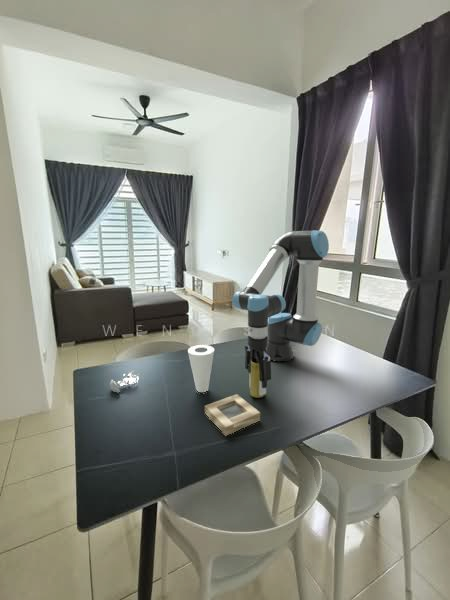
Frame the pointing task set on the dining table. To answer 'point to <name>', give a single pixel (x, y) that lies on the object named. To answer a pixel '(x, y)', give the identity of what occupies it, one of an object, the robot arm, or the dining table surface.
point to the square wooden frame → (232, 414)
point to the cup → (201, 365)
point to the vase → (255, 380)
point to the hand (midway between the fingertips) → (257, 390)
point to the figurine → (125, 381)
